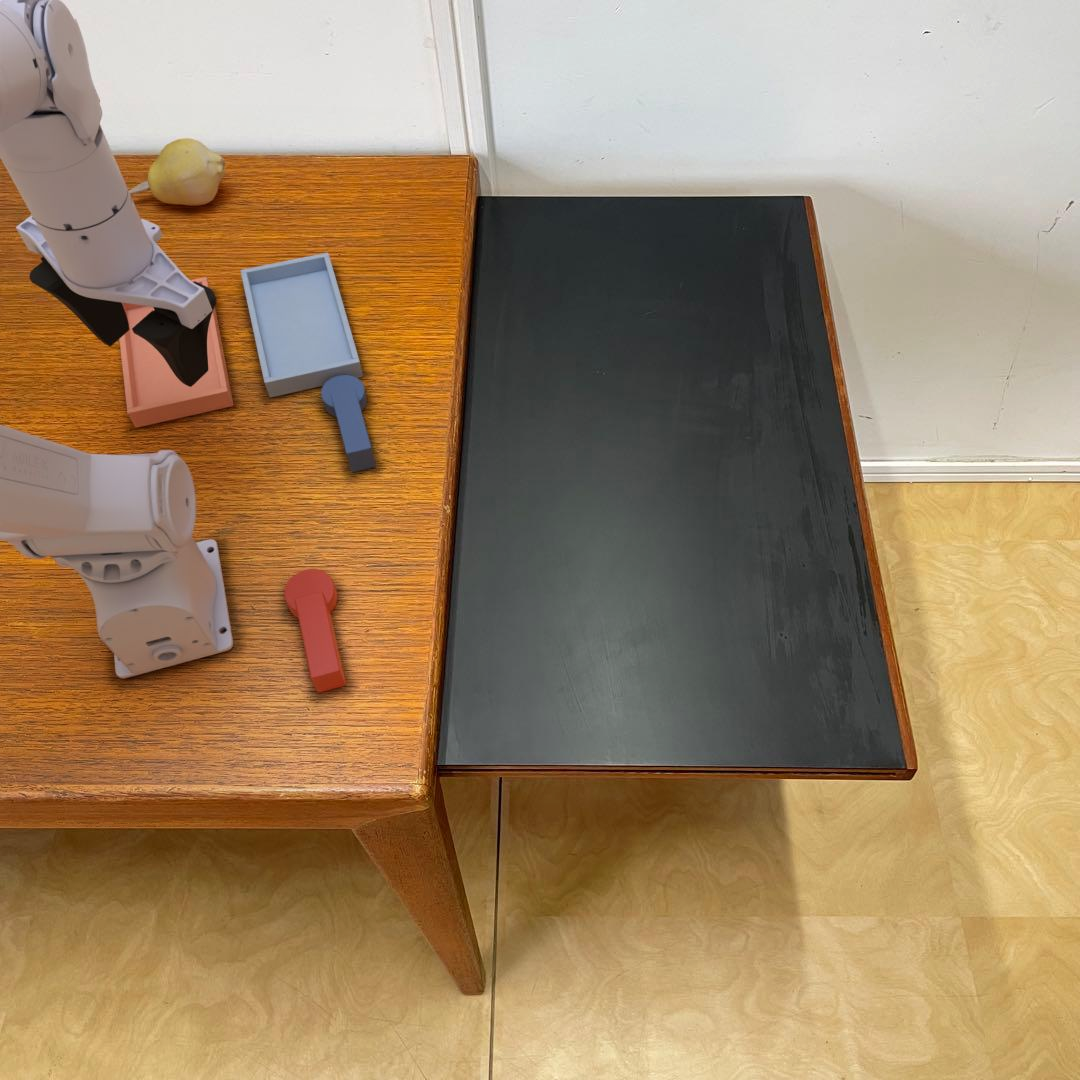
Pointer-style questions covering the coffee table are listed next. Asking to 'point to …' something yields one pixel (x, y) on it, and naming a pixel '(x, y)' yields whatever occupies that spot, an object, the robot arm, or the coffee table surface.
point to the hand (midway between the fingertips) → (156, 356)
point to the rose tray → (169, 376)
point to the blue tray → (299, 324)
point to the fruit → (184, 174)
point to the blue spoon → (350, 418)
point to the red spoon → (317, 625)
